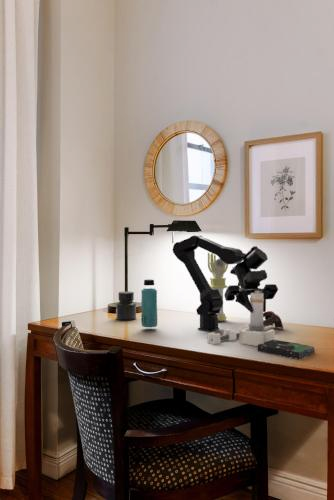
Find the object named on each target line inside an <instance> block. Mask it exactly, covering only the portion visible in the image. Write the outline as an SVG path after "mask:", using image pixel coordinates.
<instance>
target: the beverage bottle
mask: <svg viewBox="0 0 334 500" xmlns="http://www.w3.org/2000/svg"><path fill="white" fill-rule="evenodd" d="M143 285H144V286H154V285H155V280H154V279H144V280H143ZM140 292H141V300H140V301H141V315H140V316H141V319H140V321H141V322H140V323H141V326H142V327H143V328H156V327H157V326H158V290H157V289H156V288H155V287H144V288H143V289H141V291H140Z"/></svg>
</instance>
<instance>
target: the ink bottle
mask: <svg viewBox="0 0 334 500" xmlns="http://www.w3.org/2000/svg"><path fill="white" fill-rule="evenodd" d="M134 294H135V293H134V292H133V291H119V292H118V295H117V296H118V302H117V303H116V305H115V307H116V309H115V317H116V320H118V321H119V320H120V321H131V320H136V318H137V305H136V303H135V302H134V299H135V297H134V296H135V295H134Z"/></svg>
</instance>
